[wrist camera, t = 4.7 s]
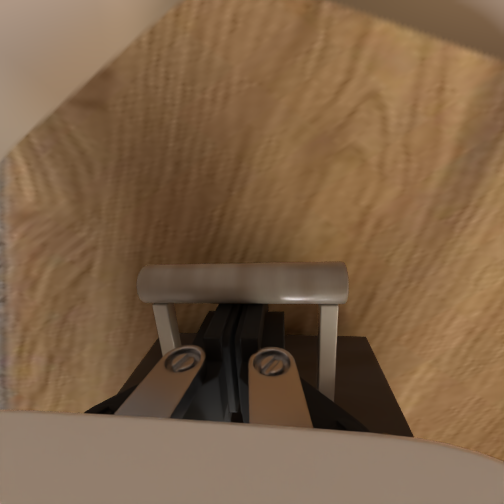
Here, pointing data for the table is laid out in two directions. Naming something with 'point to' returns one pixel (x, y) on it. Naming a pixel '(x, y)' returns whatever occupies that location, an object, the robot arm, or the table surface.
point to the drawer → (299, 346)
